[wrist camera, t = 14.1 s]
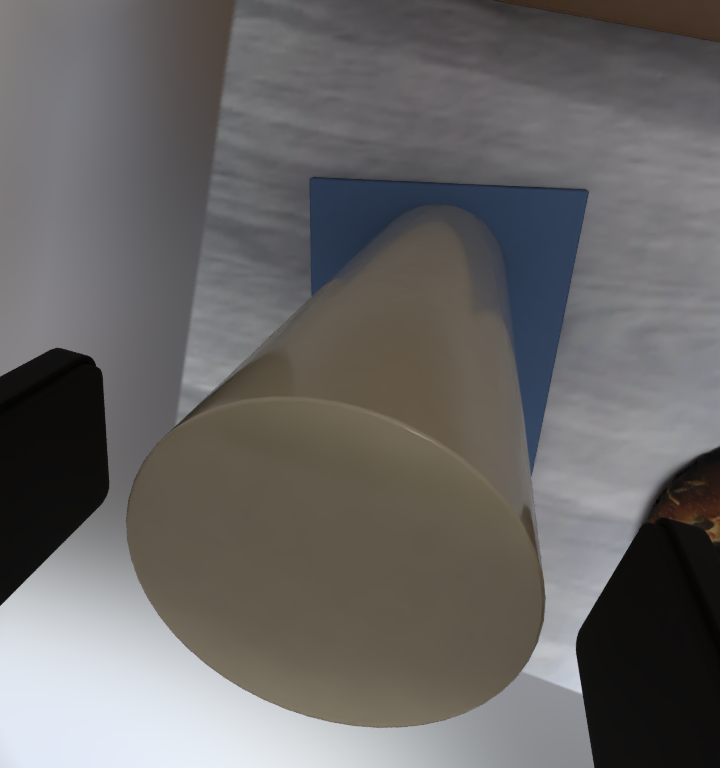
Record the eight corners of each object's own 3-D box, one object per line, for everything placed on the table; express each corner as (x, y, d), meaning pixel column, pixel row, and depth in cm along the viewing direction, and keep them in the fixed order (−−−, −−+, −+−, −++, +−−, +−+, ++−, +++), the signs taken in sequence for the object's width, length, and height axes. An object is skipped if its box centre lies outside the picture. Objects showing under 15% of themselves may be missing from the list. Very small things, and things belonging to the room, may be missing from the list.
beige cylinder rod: (340, 261, 25) (51, 522, 9) (451, 172, 23) (346, 298, 6) (419, 363, 27) (304, 760, 10) (533, 291, 24) (637, 669, 7)
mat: (313, 176, 24) (309, 178, 24) (586, 189, 22) (589, 190, 22) (318, 517, 33) (315, 523, 33) (514, 550, 31) (515, 557, 31)
